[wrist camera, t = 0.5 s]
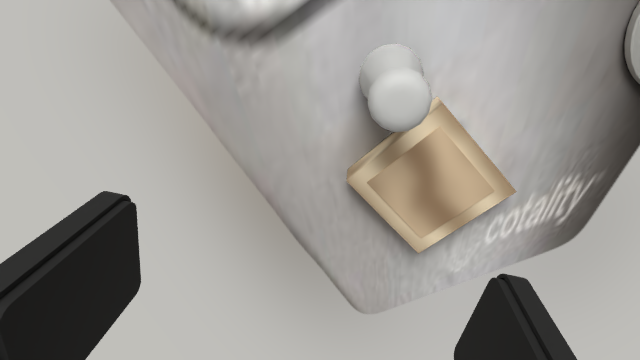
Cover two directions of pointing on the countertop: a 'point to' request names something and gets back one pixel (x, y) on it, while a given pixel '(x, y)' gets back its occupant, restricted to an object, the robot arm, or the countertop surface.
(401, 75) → the salt shaker
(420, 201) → the base board
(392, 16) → the countertop surface
